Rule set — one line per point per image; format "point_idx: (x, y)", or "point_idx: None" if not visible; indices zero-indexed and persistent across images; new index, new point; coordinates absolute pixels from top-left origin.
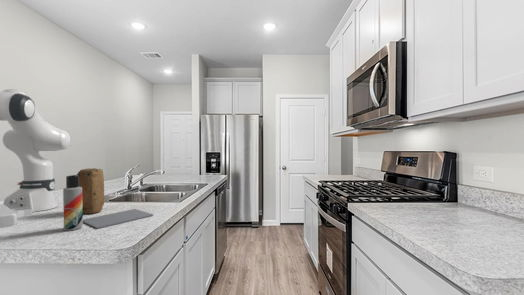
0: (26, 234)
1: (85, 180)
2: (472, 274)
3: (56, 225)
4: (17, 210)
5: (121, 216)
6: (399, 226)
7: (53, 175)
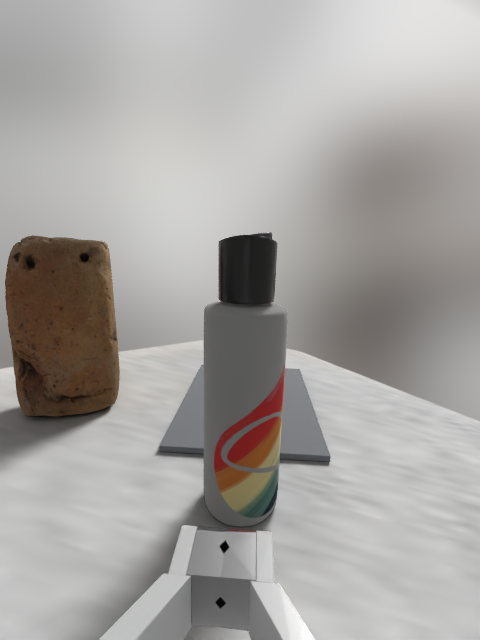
0: None
1: (72, 283)
2: None
3: (102, 516)
4: (160, 630)
5: None
6: None
7: None
